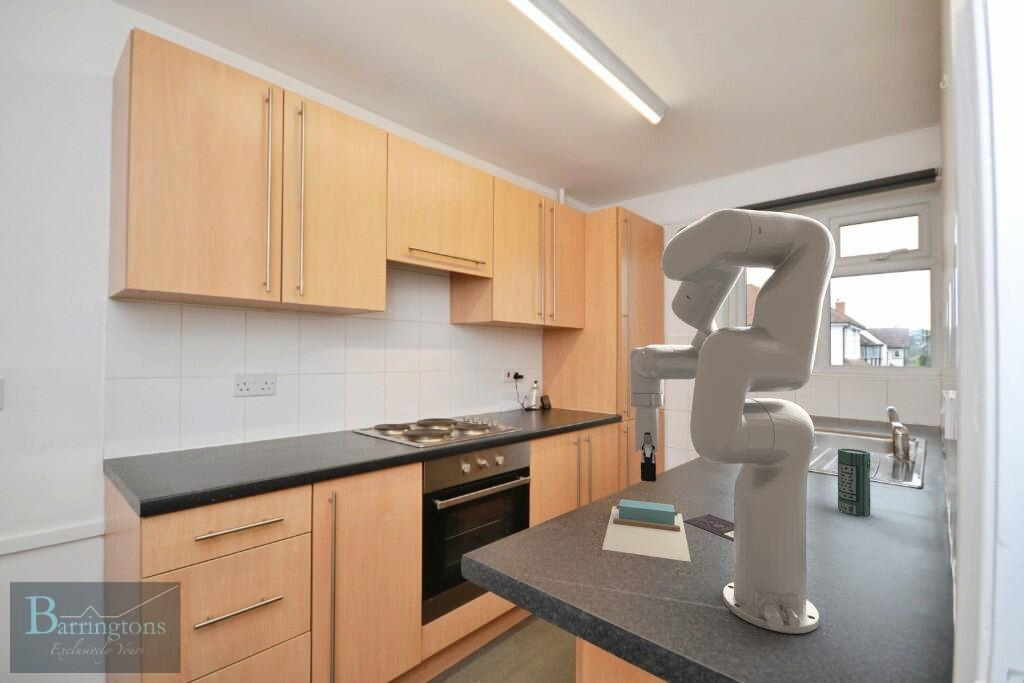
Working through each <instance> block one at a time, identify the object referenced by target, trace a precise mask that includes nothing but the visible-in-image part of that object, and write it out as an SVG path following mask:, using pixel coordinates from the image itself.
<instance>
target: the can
mask: <svg viewBox="0 0 1024 683" xmlns="http://www.w3.org/2000/svg"><path fill="white" fill-rule="evenodd" d="M838 509H839V510H838ZM837 510H838V511H839V512H841V511H842V512H843V514H845V513H846V515H848V516H853V515H855V516H854V517H860V516H862V517H863V516H864V517H863V518H866V516H867V517H871V453H870V452H869V451H866V450H864V449H863V450H862V449H857V448H856V449H855V448H838V449H837ZM842 512H841V513H842ZM851 514H852V515H851Z"/></svg>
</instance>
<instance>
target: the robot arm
mask: <svg viewBox="0 0 1024 683" xmlns="http://www.w3.org/2000/svg"><path fill="white" fill-rule="evenodd" d="M835 260H836V244H835V240H834V237H833V234H832V233H831V231H830V230H829V229H828V228H827V226H826V225H824V224H823V223H821V221H819V220H817V219H814V218H812V217H809V216H805V215H801V214H796V213H787V212H778V211H770V210H769V211H768V210H753V209H745V208H732V207H731V208H721V209H718V210H714V211H711V212H710V213H708V214H706V215H704V216H702V217H701V218H699V219H697V220H696V221H694V222H692V223H691V224H689V225H688V226H686V227H684V228H682V229H681V230H680V231H678V232H677V233H675V235H674V236H673V237H672V238H671V239H670V240H669V241H668V242H667V244H666V246H665V248H664V251H663V252H662V257H661V270H662V273H663V275H664V276H665V277H666V278H667V279H669V280H672V281H674V282H675V281H676V282H681V283H680V284H679V286H678V289H677V291H676V293H675V295H674V296H673V298H672V301H671V306H670V307H671V310H672V312H673V314H674V315H675V316H676V317H677V318H678V319H679V320H680V321H682V322H683V323H685V324H686V325H689V326H690V327H692V328H694V329H695V330H696V333H695V335H694V337H693V339H692V340H691V342H690V343H689V344H688V345H687V344H649V345H646V346H643V347H635V348H633V349H632V350H631V351H630V355H629V357H630V359H629V362H630V363H629V364H630V365H629V366H630V372H629V373H630V407H631V408H635V412H634V413H635V415H634V435H635V436H634V438H635V439H634V442H635V444H634V445H635V446H634V447H635V448H634V450H635V452H637V453H639V451H641V461H640V480H641V481H642V482H652V483H653V482H654V483H655V482H656V481H657V460H656V453H657V452H658V450H659V442H660V409H664V408H665V407H666V406H665V404H666V402H665V401H666V400H665V399H666V398H665V392H666V391H665V380H667V381H668V380H694V386H693V395H692V404H691V411H690V412H691V413H690V424H689V425H690V426H689V429H690V432H689V433H690V439H691V443H692V446H693V447H694V450H695V452H696V453H697V454H698V456H700V458H702V459H703V460H704V461H707V462H708V463H710V464H716V465H739V464H740V465H741V466H740V468H739V471H738V473H737V476H736V477H735V478H736V479H735V483H734V490H733V523H734V541H733V582H730V583H728V584H725V586H724V587H723V589H722V601H723V602H724V605H726V607H727V608H728V609H729V611H730V612H732V613H733V614H735V615H736V616H737V617H739V618H740V619H742V620H744V621H746V622H748V623H749V624H752V625H754V626H757V627H760V628H762V629H765V630H768V631H772V632H777V633H783V634H784V633H785V634H806V633H810V632H813V631H814V630H817V628H818V627H819V625H820V613H819V611H818V609H817V607H816V606H815V605H814V604H813V603H812V602H811V601H809V600H808V599H807V503H808V502H807V501H808V500H807V498H808V497H807V494H808V475H809V468H810V463H811V459H812V455H813V451H814V446H815V436H816V435H815V427H814V423H813V420H812V418H811V417H810V415H809V414H808V412H807V411H806V409H804V408H802V407H801V406H800V405H798V404H796V403H795V402H792V401H790V400H786V399H781V398H769V397H767V398H765V397H763V398H762V397H758V398H754V397H753V398H752V397H751V398H749V397H748V398H747V395H748V393H781V392H792V391H797V390H799V389H801V388H803V387H805V386H806V384H808V382H809V381H810V378H811V375H812V372H813V369H814V363H815V358H816V351H817V348H818V347H817V346H818V341H819V340H818V339H819V335H820V334H819V333H820V326H821V321H822V313H823V312H822V311H823V305H824V300H825V296H826V292H827V288H828V285H829V282H830V279H831V278H832V277H831V276H832V273H833V270H834V267H835ZM745 268H746V269H747V268H749V269H752V268H754V269H767V270H772V271H773V272H772V273H771V274H770V275H769V276H768V277H767V278H766V279H765V281H764V282H763V284H762V285H761V287H760V288H759V291H758V292H757V293H756V294H757V295H756V297H755V299H754V305H753V307H754V308H753V314H752V319H751V323H750V326H727V327H726V326H725V327H722V328H719V329H718V325H717V323H716V321H715V320H716V317H717V315H718V314H719V311H720V310H721V308H722V307H723V305H724V303H725V302H726V300H727V298H728V296H729V295H730V293H731V291H732V290H733V288H734V286H735V285H736V283H737V281H738V280H739V278H740V276H741V274H742V273H743V271H744V269H745Z"/></svg>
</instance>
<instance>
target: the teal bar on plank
mask: <svg viewBox="0 0 1024 683" xmlns="http://www.w3.org/2000/svg"><path fill="white" fill-rule="evenodd" d="M618 504H619V519H627V520H635V521H643V522H652V523H660V524H668V525H675V511H674V510H675V505H674V504H668V503H660V502H650V501H641V500H633V499H632V500H631V499H620V500H619V503H618Z"/></svg>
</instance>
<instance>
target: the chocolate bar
mask: <svg viewBox="0 0 1024 683" xmlns="http://www.w3.org/2000/svg"><path fill="white" fill-rule="evenodd" d="M683 523H686V524H689V525H691V526H694V527H696V528H698V529H699V528H700V529H701V530H705V531H707V532H709V533H711V534H714V535H716V536H720V537H722V538H725V539H727V540H729V541H732V542H734V522H731V521H729V520H726V519H723V518H721V517H718V516H715V515H712V514H709V513H708V514H705V515H702V516H697V517H694V518H690V519H686V520H683Z"/></svg>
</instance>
